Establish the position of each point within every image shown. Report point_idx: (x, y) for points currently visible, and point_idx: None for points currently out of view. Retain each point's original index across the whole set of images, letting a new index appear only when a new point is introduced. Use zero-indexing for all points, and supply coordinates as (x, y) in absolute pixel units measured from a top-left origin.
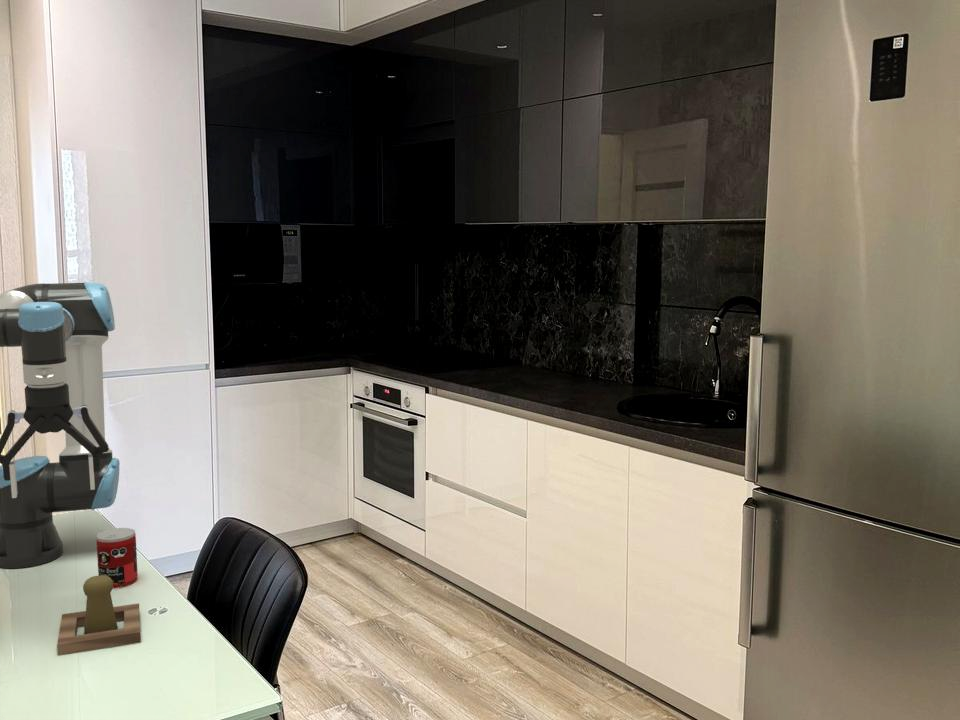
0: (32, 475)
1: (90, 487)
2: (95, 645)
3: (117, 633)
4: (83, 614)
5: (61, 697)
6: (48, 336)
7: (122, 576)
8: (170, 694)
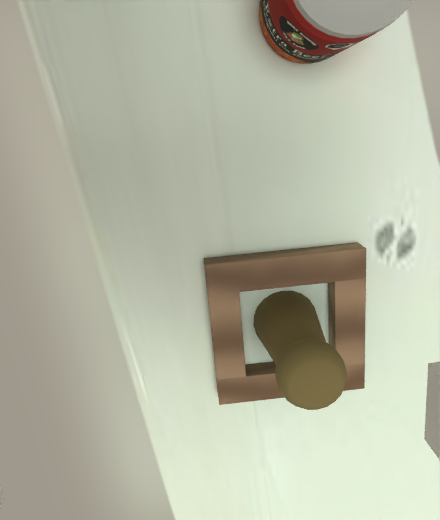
0: None
1: (433, 450)
2: None
3: None
4: (251, 279)
5: (245, 516)
6: None
7: (330, 56)
8: None
